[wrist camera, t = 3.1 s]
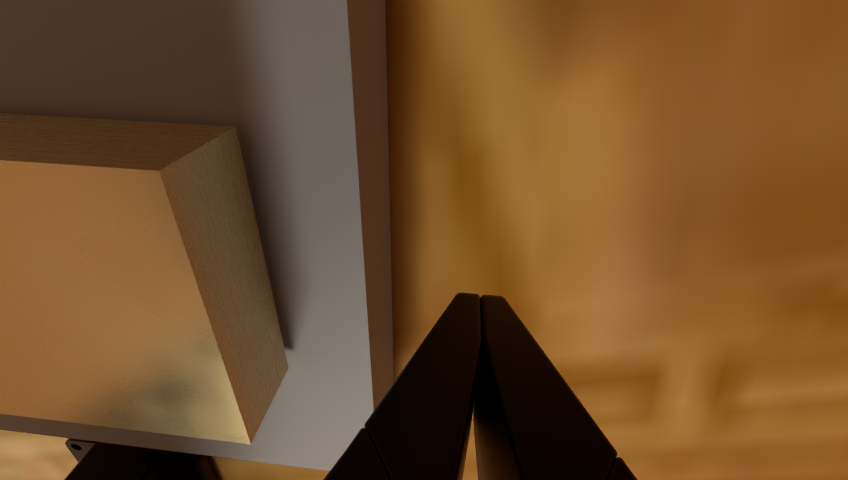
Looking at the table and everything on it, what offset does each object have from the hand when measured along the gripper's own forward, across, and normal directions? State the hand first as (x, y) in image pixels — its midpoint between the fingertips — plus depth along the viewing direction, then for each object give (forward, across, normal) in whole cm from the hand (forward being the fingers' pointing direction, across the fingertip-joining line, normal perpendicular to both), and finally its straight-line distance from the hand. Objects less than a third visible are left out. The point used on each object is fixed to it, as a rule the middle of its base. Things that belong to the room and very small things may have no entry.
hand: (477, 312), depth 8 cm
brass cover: (+1, +7, 0) cm, 7 cm away
